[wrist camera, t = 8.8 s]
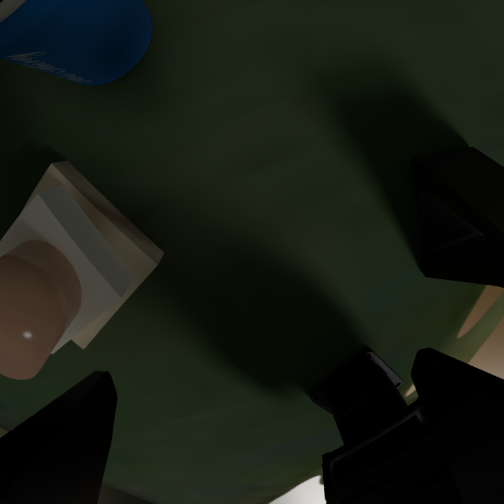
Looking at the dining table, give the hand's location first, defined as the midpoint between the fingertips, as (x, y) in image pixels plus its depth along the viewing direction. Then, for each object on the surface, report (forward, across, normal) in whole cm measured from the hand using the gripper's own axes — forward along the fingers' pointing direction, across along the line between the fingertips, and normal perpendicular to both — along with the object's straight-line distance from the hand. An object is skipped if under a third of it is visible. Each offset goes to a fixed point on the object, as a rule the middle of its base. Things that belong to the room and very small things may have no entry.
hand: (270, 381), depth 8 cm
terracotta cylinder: (+8, +12, 0) cm, 14 cm away
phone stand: (+13, -15, -2) cm, 20 cm away
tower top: (+11, +12, 0) cm, 16 cm away
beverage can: (+13, +8, -14) cm, 21 cm away
